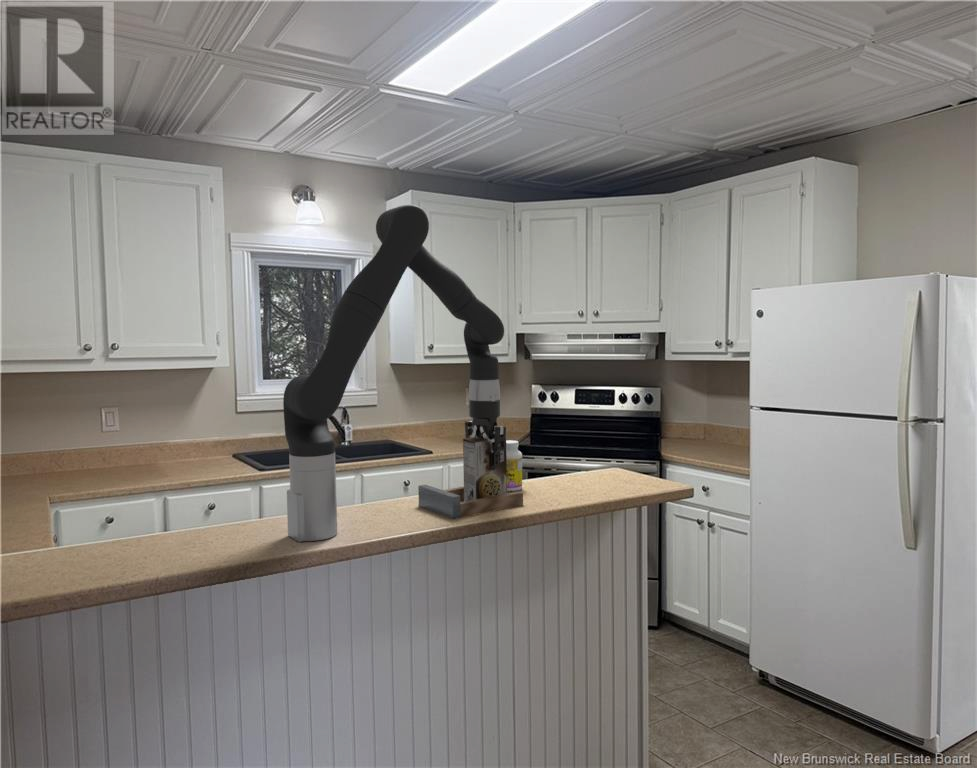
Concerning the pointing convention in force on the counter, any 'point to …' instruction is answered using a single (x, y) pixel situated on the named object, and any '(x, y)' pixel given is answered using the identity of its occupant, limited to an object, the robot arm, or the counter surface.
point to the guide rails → (486, 502)
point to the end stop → (439, 501)
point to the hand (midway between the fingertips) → (485, 465)
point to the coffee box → (482, 470)
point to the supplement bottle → (513, 466)
